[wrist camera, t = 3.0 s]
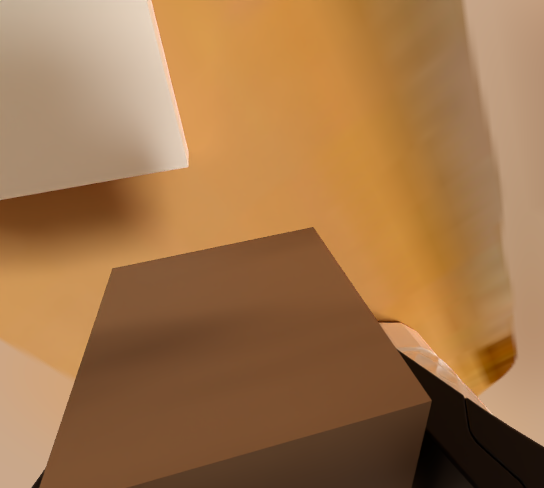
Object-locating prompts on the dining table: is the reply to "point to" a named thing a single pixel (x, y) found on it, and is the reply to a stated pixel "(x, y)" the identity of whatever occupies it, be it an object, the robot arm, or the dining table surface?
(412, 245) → the dining table surface
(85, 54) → the l-shaped block
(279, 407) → the walnut cube
